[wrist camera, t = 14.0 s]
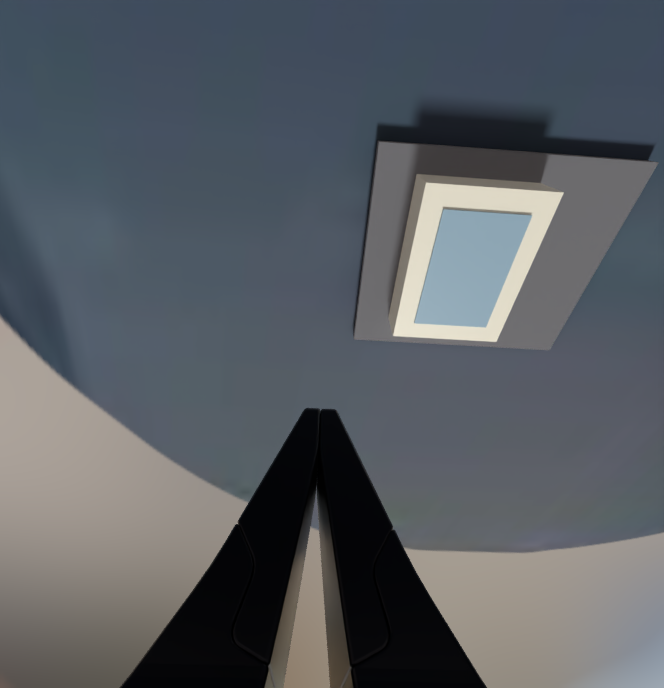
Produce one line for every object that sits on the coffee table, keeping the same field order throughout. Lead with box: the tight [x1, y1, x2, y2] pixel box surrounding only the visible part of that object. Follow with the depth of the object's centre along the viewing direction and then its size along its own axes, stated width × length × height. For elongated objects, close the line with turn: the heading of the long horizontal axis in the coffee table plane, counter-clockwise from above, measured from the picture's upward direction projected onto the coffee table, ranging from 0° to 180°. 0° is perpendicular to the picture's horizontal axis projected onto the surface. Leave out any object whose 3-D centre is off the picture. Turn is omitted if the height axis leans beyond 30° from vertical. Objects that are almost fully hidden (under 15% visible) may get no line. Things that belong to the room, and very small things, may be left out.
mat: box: [354, 140, 658, 350], centre depth 18 cm, size 13×11×1 cm
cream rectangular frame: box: [388, 174, 564, 342], centre depth 17 cm, size 8×2×6 cm
